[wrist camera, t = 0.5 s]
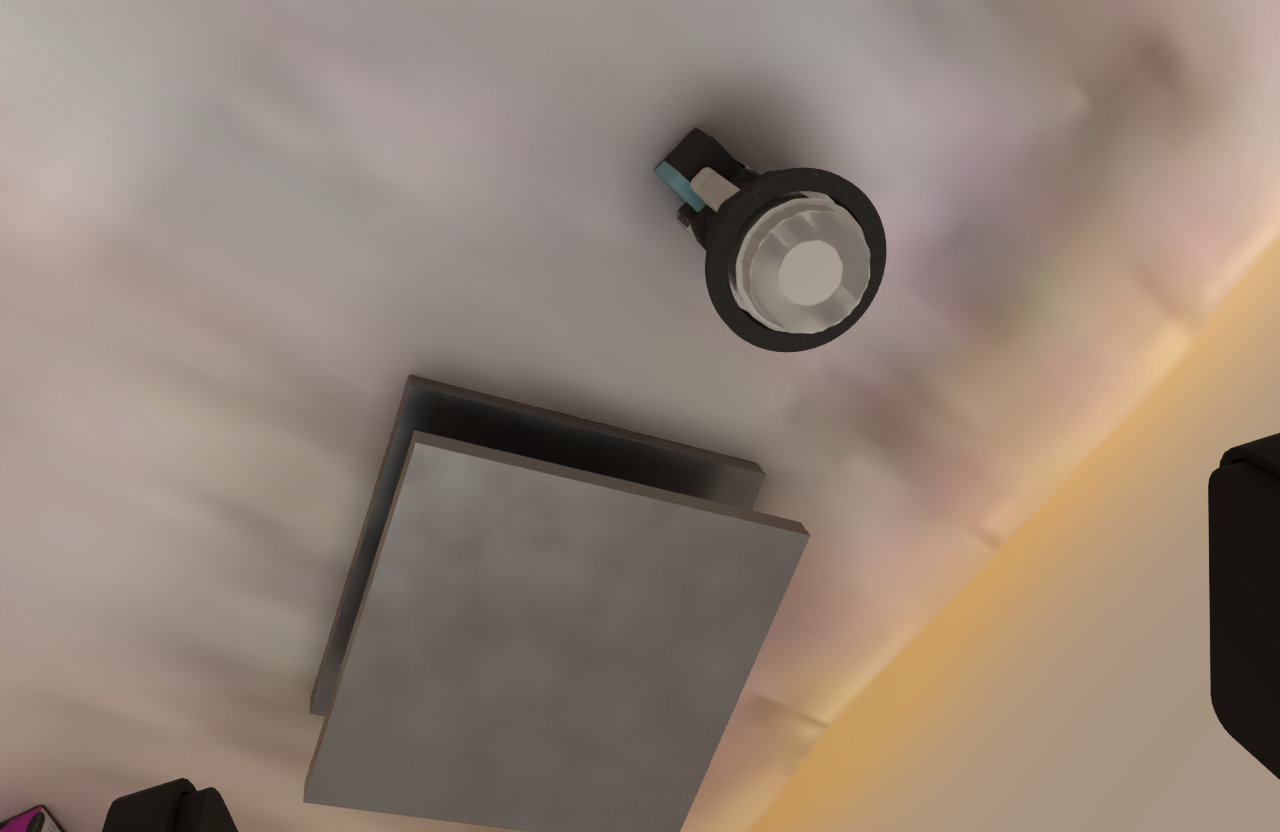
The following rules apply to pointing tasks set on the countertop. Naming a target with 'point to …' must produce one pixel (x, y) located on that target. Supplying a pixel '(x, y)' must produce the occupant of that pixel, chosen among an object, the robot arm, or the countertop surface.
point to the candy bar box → (31, 822)
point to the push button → (778, 245)
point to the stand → (543, 621)
